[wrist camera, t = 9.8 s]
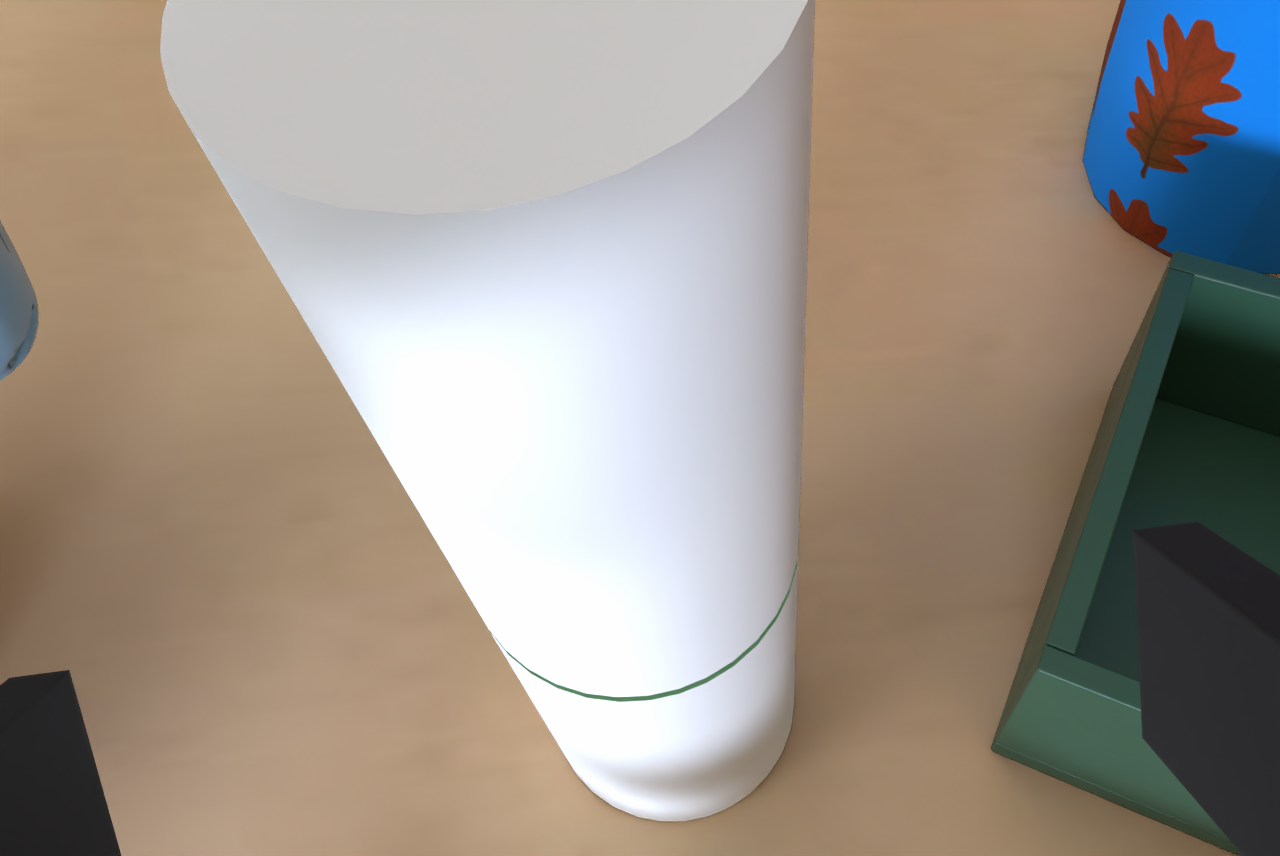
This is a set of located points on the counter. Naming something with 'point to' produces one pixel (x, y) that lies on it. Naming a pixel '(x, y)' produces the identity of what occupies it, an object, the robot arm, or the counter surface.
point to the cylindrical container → (558, 328)
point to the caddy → (1145, 498)
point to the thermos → (1192, 128)
